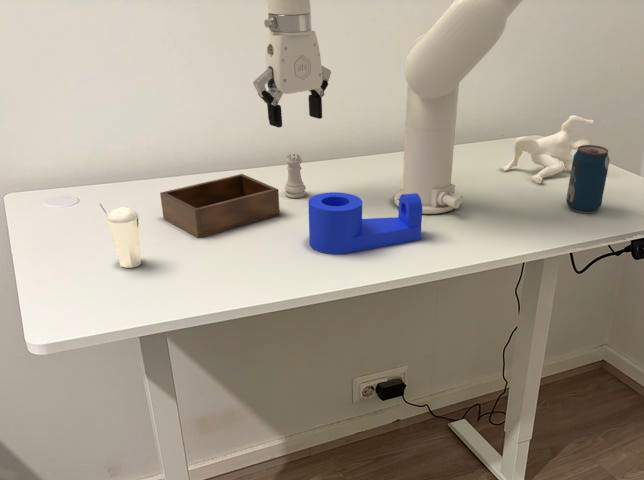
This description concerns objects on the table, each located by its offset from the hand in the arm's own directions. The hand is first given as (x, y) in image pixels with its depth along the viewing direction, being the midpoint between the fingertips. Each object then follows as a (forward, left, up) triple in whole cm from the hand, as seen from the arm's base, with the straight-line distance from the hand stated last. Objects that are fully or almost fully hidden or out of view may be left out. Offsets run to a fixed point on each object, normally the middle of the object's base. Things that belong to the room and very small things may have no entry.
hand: (296, 121), depth 140 cm
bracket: (-26, +6, -15) cm, 30 cm away
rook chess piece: (0, +1, -15) cm, 15 cm away
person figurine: (-23, -54, -15) cm, 60 cm away
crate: (-1, +19, -15) cm, 24 cm away
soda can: (-42, -39, -15) cm, 59 cm away
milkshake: (-9, +42, -15) cm, 45 cm away
